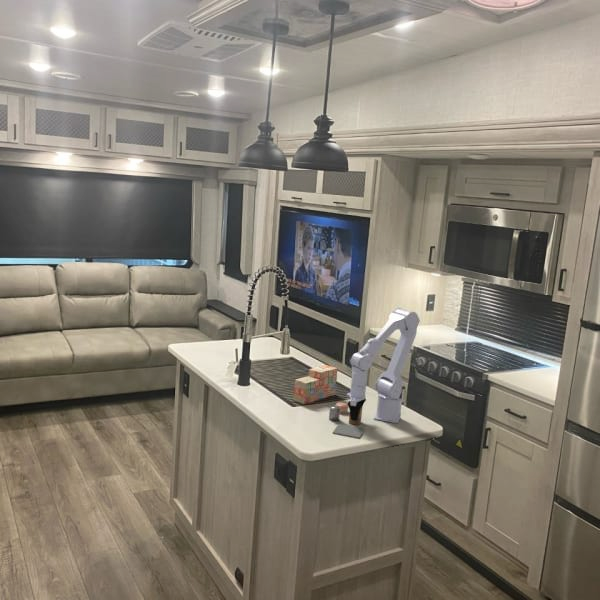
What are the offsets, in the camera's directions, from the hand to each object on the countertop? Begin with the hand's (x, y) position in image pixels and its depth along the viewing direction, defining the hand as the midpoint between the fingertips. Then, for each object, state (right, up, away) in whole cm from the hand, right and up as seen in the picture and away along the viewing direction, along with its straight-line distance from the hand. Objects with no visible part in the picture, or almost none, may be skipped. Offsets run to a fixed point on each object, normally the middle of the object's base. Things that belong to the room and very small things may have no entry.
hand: (355, 418), depth 231 cm
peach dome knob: (-4, 0, +11) cm, 12 cm away
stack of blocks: (-15, +3, +26) cm, 30 cm away
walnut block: (0, -2, 0) cm, 2 cm away
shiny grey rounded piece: (-8, -1, +2) cm, 8 cm away
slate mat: (-3, -3, -9) cm, 10 cm away
